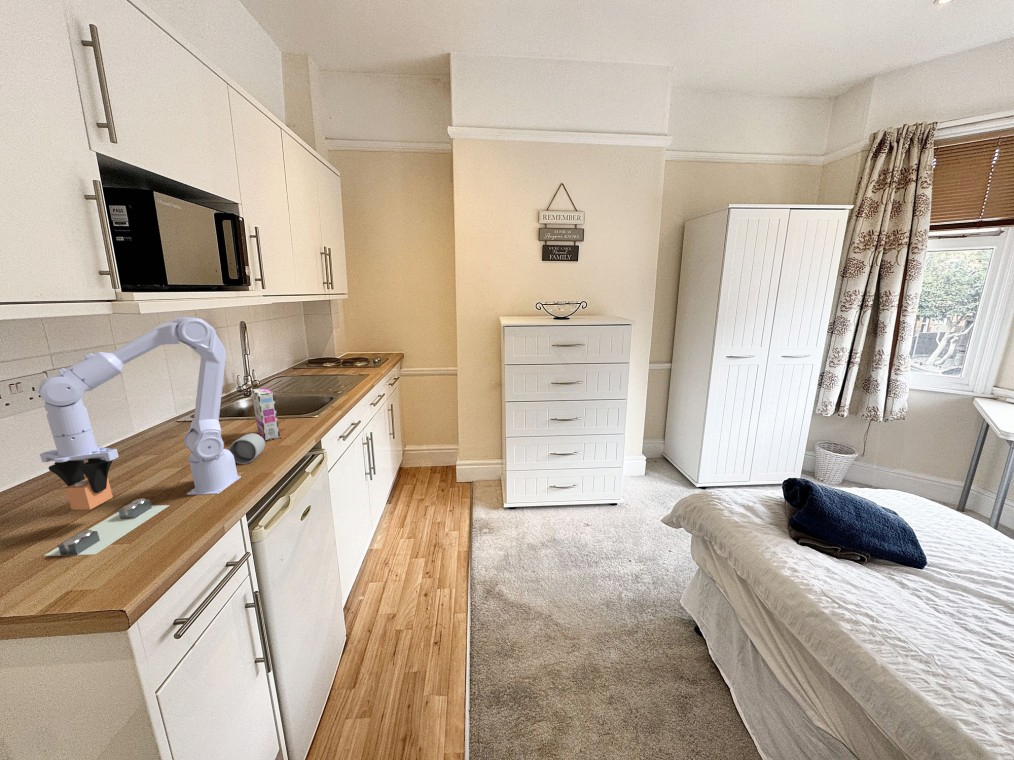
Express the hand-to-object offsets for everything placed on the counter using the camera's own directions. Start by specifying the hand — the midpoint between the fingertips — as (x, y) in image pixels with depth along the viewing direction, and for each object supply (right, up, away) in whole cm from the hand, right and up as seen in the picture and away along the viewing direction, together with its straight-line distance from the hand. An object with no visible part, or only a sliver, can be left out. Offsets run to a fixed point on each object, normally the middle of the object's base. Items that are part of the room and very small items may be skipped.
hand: (90, 490), depth 87 cm
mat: (+5, -8, 0) cm, 10 cm away
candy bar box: (+7, +4, +55) cm, 55 cm away
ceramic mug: (+11, 0, +35) cm, 37 cm away
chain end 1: (+5, -10, -7) cm, 13 cm away
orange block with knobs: (0, -3, +1) cm, 3 cm away
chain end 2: (+5, -7, +6) cm, 10 cm away
